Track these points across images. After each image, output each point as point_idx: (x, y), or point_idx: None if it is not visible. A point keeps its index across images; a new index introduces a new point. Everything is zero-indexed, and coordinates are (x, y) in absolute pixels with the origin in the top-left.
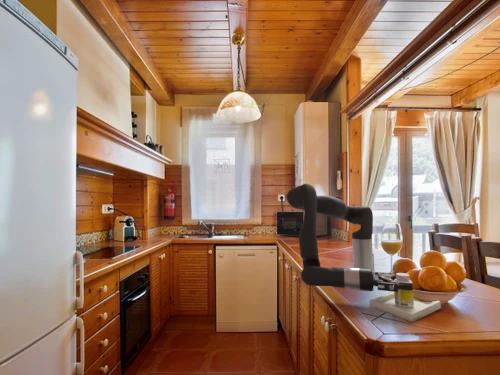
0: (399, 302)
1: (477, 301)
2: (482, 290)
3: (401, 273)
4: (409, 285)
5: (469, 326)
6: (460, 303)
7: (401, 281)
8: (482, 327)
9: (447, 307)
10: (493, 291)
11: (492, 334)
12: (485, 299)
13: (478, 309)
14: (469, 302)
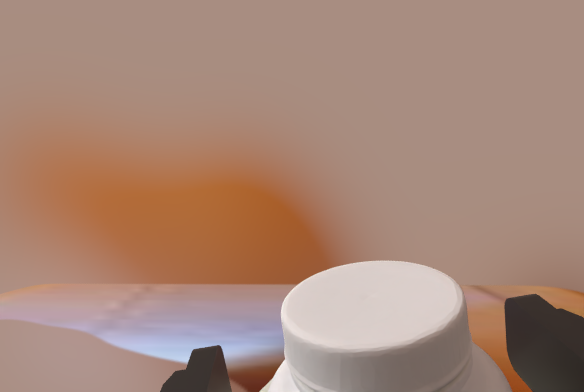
0: None
1: (163, 309)
2: (39, 300)
3: (320, 307)
4: (579, 316)
5: (495, 326)
6: (195, 342)
7: (475, 377)
8: (467, 303)
9: (270, 377)
10: (58, 286)
11: (519, 289)
12: (140, 297)
13: (258, 308)
14: (178, 323)
